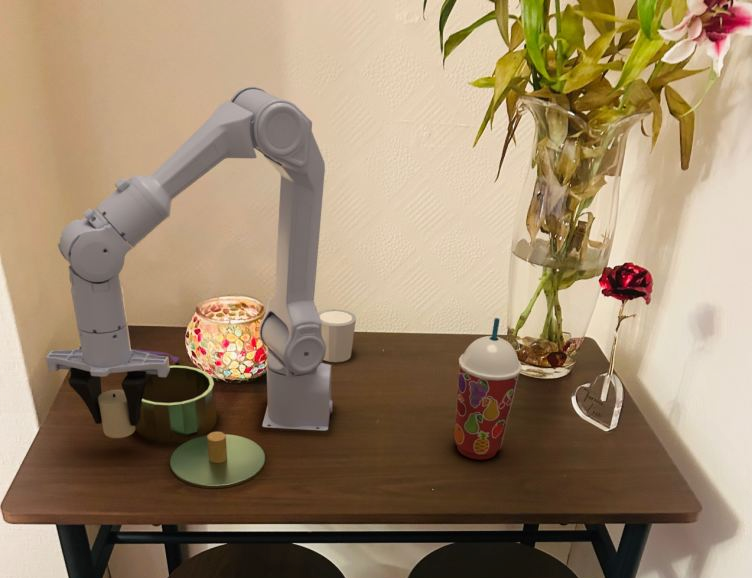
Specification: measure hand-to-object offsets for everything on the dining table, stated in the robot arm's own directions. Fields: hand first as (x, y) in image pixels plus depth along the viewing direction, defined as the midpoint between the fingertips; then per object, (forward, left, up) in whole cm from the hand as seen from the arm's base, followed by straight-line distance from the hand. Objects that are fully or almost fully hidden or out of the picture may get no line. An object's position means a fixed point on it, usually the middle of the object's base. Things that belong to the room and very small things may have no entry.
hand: (117, 420), depth 101 cm
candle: (0, 0, -1) cm, 1 cm away
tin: (-5, -9, -6) cm, 12 cm away
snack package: (+5, -26, -6) cm, 27 cm away
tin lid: (-13, +1, -5) cm, 14 cm away
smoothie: (-48, -6, -6) cm, 49 cm away
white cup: (-26, -34, -6) cm, 44 cm away
